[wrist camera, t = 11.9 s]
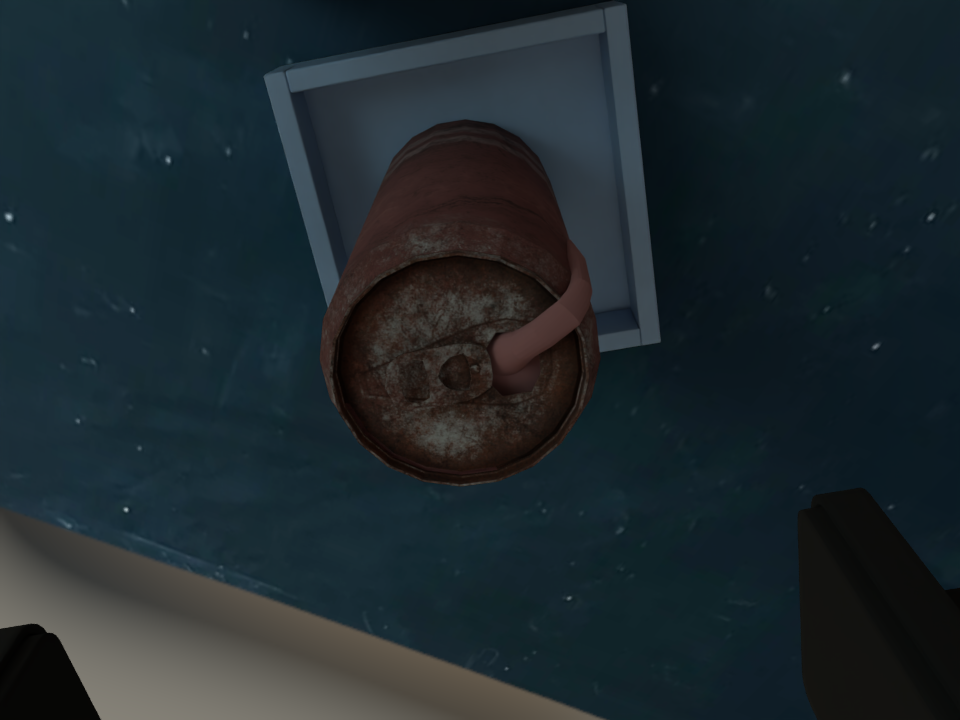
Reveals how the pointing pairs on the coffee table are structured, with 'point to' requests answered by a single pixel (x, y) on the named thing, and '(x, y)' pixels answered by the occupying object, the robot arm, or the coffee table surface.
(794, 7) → the coffee table surface
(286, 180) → the coffee table surface
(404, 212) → the can
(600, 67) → the blue tray
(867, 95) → the coffee table surface
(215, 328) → the coffee table surface
